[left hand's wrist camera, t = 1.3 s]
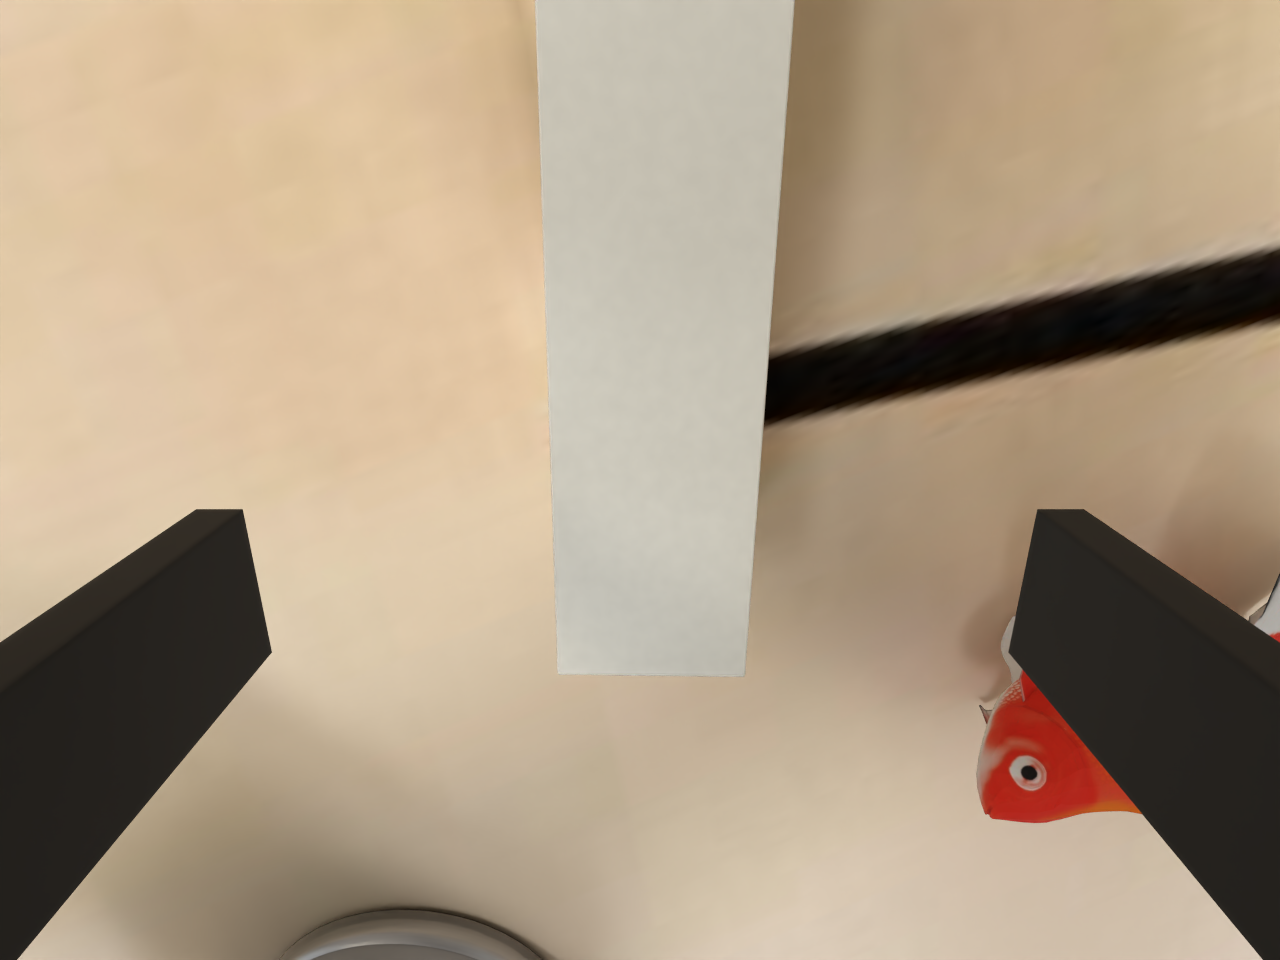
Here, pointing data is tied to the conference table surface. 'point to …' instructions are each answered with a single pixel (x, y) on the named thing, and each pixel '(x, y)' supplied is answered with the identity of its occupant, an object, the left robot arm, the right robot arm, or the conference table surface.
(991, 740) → the fish
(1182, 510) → the conference table surface
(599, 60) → the beam
